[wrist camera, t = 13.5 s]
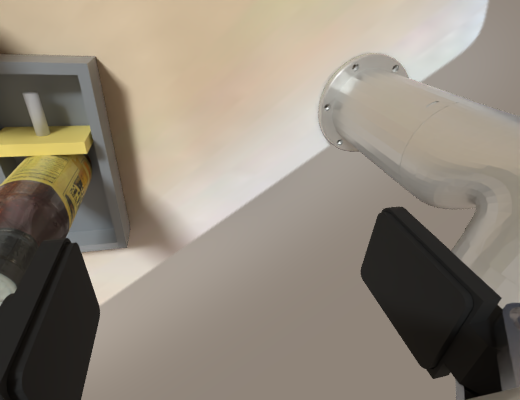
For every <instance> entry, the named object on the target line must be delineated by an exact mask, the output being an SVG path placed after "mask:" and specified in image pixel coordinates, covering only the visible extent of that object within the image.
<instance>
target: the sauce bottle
mask: <svg viewBox="0 0 520 400" xmlns="http://www.w3.org/2000/svg"><path fill="white" fill-rule="evenodd" d="M91 178H92V165H91V160H90V158H89V157H88V155H87V154H68V155H40V156H27V157H26V158H25V159H24V160H23V161H22V162H21V163H20V165H19V166H18V167H17V168H16V169H15V170H14V171H13V172H12V173H11V174H10V175H9V176H8V177H7V178H6V179H5V180H4V182H3V183H2V184H1V185H0V306H1V304H2V302H3V301H4V299H5V298H6V297H7V296H8V295H10V294H12V293H15V291H16V289H17V287H18V285H19V283H20V282H21V280H22V278H23V276H24V274H25V272H26V270H27V268H28V267H29V265H30V263H31V261H32V259H33V257H34V255H35V253H36V252H37V250H38V248H39V246H40V244H41V243H42V241H44V240H51V239H62V238H66V236H67V234H68V232H69V230H70V228H71V225H72V223H73V220H74V218H75V216H76V214H77V211H78V209H79V207H80V204H81V202H82V200H83V197H84V195H85V192H86V190H87V188H88V185H89V183H90V181H91Z"/></svg>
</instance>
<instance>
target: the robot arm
mask: <svg viewBox="0 0 520 400" xmlns="http://www.w3.org/2000/svg"><path fill="white" fill-rule="evenodd" d="M353 65H354V67H353ZM352 67H353V68H352ZM325 105H326V107H325ZM318 118H319V124H320V127H321V130H322V133H323V134H324V136H325V137H326V139H327V140H329V141H330V142H331V143H332V144H333V145H334V146H336V147H337V148H339V149H342V150H345V151H350V152H354V151H360V152H362V154H364V155H365V156H366V157H367V158H369V159H370V160H371V161H372V162H373V163H374V164H376V165H377V166H378V167H380V168H381V169H382V170H383V171H384V172H385V173H387V174H388V175H389V176H390V177H391V178H393V179H394V180H395V181H396V182H397V183H399V184H400V185H401V186H402V187H404V188H405V189H406V190H407V191H409V192H410V193H411V194H412V195H414V196H415V197H416V198H418V199H419V200H421V201H422V202H424V203H426V204H428V205H431V206H434V207H437V208H443V209H470V208H476V211H475V213H474V216H473V217H472V219H471V221H470V222H469V224H468V225H467V227H466V228H465V232H464V233H463V234H462V236H461V238H460V239H459V240H458V242H457V243H456V245H455V246H454V248H453V249H452V250H451V251H450V250H449V249H448V248H447V247H446V246H445V245H444V244H443V243H442V242H440V241H439V240H438V239H437V238H436V237H435V236H434V235H433V234H432V233H431V232H430V231H429V230H427V229H426V228H425V227H424V226H423V225H422V224H421V223H420V222H419V221H418V220H417V219H415V218H414V217H413V216H412V215H411V214H410V213H409V212H408V211H407V210H406V209H404V208H403V207H391V208H385V209H383V210H382V212H381V213H380V214H378V216H377V219H376V223H375V226H374V229H373V232H372V235H371V239H370V242H369V245H368V248H367V251H366V255H365V258H364V261H363V264H362V267H361V277H362V279H363V281H364V282H365V284H366V285H367V287H368V288H369V290H370V291H371V293H372V294H373V296H374V297H375V299H376V300H377V302H378V303H379V305H380V306H381V308H382V309H383V311H384V312H385V314H386V315H387V317H388V318H389V320H390V321H391V323H392V324H393V326H394V327H395V329H396V330H397V332H398V333H399V335H400V336H401V338H402V339H403V341H404V342H405V344H406V345H407V347H408V348H409V350H410V351H411V353H412V354H413V356H414V357H415V359H416V360H417V361H418V363H419V364H420V366H421V367H423V368H425V369H427V371H428V372H429V374H430V375H431V377H432V378H433V379H435V378H439V377H443V376H447V375H449V373H450V372H451V373H452V374H453V376H454V377H455V379H456V400H520V116H518V115H514V114H511V113H508V112H504V111H501V110H498V109H495V108H492V107H489V106H487V105H484V104H481V103H478V102H475V101H472V100H469V99H466V98H463V97H460V96H458V95H455V94H452V93H449V92H446V91H443V90H441V89H438V88H435V87H432V86H429V85H426V84H424V83H421V82H418V81H415V80H412V79H409V77H408V75H407V72H406V70H405V69H404V67H403V66H402V65H401V63H399V62H398V61H397V60H396V59H394V58H392V57H390V56H387V55H383V54H377V53H370V54H364V55H361V56H358V57H356V58H353V59H351V60H350V61H348V62H347V63H345V64H344V65H343V66H342V67H340V68H339V69H338V70H337V71H336V72H335V73H334V75H333V76H332V77H331V78H330V80H329V81H328V83H327V85H326V87H325V88H324V91H323V93H322V96H321V99H320V103H319V111H318ZM99 317H100V308H99V304H98V301H97V298H96V295H95V292H94V289H93V286H92V283H91V280H90V277H89V274H88V271H87V268H86V265H85V263H84V260H83V257H82V254H81V251H80V248H79V245H78V244H77V243H76V242H75V243H71V241H70V240H69V239H68V238H62V239H51V240H44V241H42V243H41V244H40V246H39V248H38V250H37V252H36V253H35V255H34V257H33V259H32V261H31V263H30V265H29V267H28V268H27V270H26V272H25V274H24V276H23V278H22V280H21V282H20V283H19V285H18V287H17V289H16V291H15V293H12V294H10V295H8V296H7V297H6V298H5V299H4V301H3V302H2V304H1V306H0V400H81V397H82V392H83V387H84V383H85V379H86V375H87V371H88V366H89V362H90V357H91V353H92V349H93V344H94V340H95V334H96V331H97V326H98V322H99Z"/></svg>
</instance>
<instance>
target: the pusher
mask: <svg viewBox="0 0 520 400" xmlns="http://www.w3.org/2000/svg"><path fill="white" fill-rule="evenodd" d="M22 94H23V97H24V100H25V103H26V106H27V109H28V112H29V115H30V118H31V121H32V124H33V127H4V128H3V129H2V130H0V157H15V156H40V155H68V154H87V153H88V151H89V149H90V147H91V145H92V143H93V138H92V134H91V129H90V125H88V126H48V124H47V121H46V117H45V114H44V111H43V108H42V104H41V101H40V98H39V95H38V92H35V91H29V92H24V93H22Z"/></svg>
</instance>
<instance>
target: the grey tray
mask: <svg viewBox="0 0 520 400" xmlns="http://www.w3.org/2000/svg"><path fill="white" fill-rule="evenodd" d="M29 91H35V92H38V95H39V98H40V101H41V104H42V108H43V111H44V114H45V117H46V121H47V124H48V126H88V125H90V129H91V134H92V138H93V143H92V145H91V147H90V149H89V151H88V153H87V155H88V157H89V158H90V160H91V165H92V178H91V181H90V183H89V185H88V188H87V190H86V192H85V195H84V197H83V200H82V202H81V204H80V207H79V209H78V211H77V214H76V216H75V218H74V220H73V223H72V225H71V228H70V230H69V232H68V234H67V236H66V238H68V239H69V240H70V241H71V243H75V242H76V243H77V244H78V245H79V248H80V251H81V252H89V251H99V250H108V249H118V248H127V245H128V239H129V233H130V225H129V220H128V215H127V210H126V205H125V200H124V195H123V190H122V185H121V180H120V175H119V170H118V165H117V160H116V156H115V151H114V146H113V141H112V136H111V131H110V126H109V121H108V116H107V111H106V106H105V101H104V96H103V91H102V86H101V81H100V76H99V71H98V67H97V62H96V57H95V56H59V55H23V54H0V130H2V129H3V128H4V127H33V124H32V121H31V118H30V115H29V112H28V109H27V106H26V103H25V100H24V97H23V94H22V93H24V92H29ZM26 157H27V156H15V157H0V185H1V184H2V183H3V182H4V180H5V179H6V178H7V177H8V176H9V175H10V174H11V173H12V172H13V171H14V170H15V169H16V168H17V167H18V166H19V165H20V163H21V162H22V161H23V160H24V159H25V158H26Z"/></svg>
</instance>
